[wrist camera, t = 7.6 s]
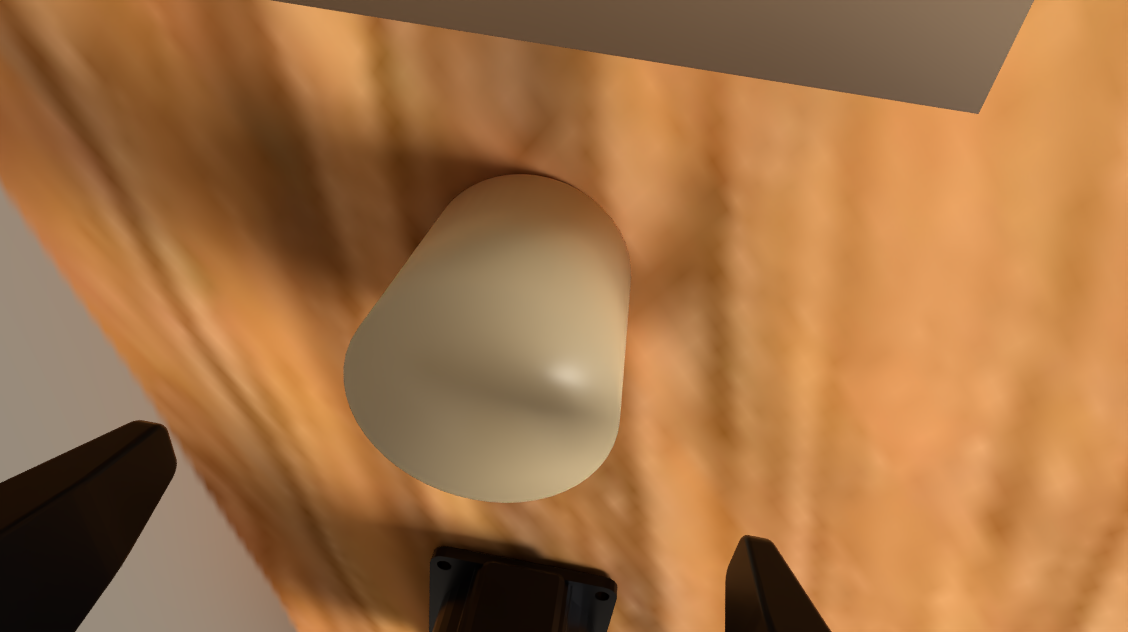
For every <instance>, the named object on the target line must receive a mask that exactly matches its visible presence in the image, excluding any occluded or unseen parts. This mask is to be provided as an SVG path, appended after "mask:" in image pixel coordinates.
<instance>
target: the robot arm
mask: <svg viewBox="0 0 1128 632" xmlns="http://www.w3.org/2000/svg"><path fill="white" fill-rule="evenodd" d="M176 466H177V460H176V456H175V453H174V450H173V446H172V443H171V440H170V436H169V433H168V430H167V428H166V427H165V426H164V425H162V424H159V423H153V422H148V421H142V420H138V421H133V422H130V423H128V424H126V425H123V426H121V427H119V428H117V429H115V430H113V431H111V432H108V433H106V434H104V435H102V436H100V437H98V438H96V439H93V440H92V441H89V442H87V443H85V444H83V445H81V446H79V447H76V448H74V449H72V450H70V451H68V452H66V453H64V454H61V455H59V456H57V457H55V458H53V459H51V460H49V461H46V462H44V463H42V464H40V465H38V466H36V467H34V468H31V469H29V470H27V471H25V472H23V473H21V474H19V475H17V476H14V477H12V478H10V479H8V480H6V481H4V482H1V483H0V632H75V631H76V630H77V628H78V627H79V625H80V624H81V623H82V621H83V620H84V619H85V617H86V616H87V614H88V613H89V611H90V610H91V609H92V607H93V606H94V605H95V603H96V601H97V600H98V599H99V597H100V596H101V595H102V593H103V592H104V590H105V589H106V588H107V586H108V585H109V583H110V582H111V581H112V579H113V578H114V576H115V575H116V573H117V572H118V570H119V569H120V567H121V566H122V564H123V562H124V561H125V559H126V558H127V556H128V554H129V553H130V551H131V550H132V548H133V546H134V544H135V543H136V541H137V539H138V537H139V536H140V534H141V532H142V530H143V529H144V527H145V525H146V523H147V522H148V520H149V518H150V516H151V515H152V513H153V511H154V509H155V507H156V506H157V504H158V503H159V501H160V499H161V497H162V495H163V494H164V492H165V490H166V489H167V487H168V485H169V483H170V481H171V480H172V478H173V476H174V474H175V471H176ZM616 599H617V584H616V583H615V581H613V580H612V579H610V578H607V577H602V576H597V575H592V574H587V573H582V572H577V571H571V570H566V569H561V568H556V567H551V566H546V565H540V564H535V563H530V562H525V561H520V560H514V559H509V558H504V557H499V556H494V555H489V554H483V553H478V552H473V551H468V550H463V549H458V548H452V547H446V546H441V547H438V548H436V549H435V550H434V553H433V556H432V558H431V561H430V607H429V632H607V630H608V626H609V623H610V620H611V616H612V613H613V609H614V606H615V603H616ZM725 632H831V631H830V629H829V628H828V626H827V624H826V623H825V621H824V620H823V618H822V617H821V615H820V614H819V612H818V611H817V609H816V608H815V606H814V605H813V603H812V601H811V600H810V598H809V597H808V595H807V594H806V592H805V591H804V589H803V588H802V586H801V585H800V583H799V582H798V580H797V578H796V577H795V575H794V574H793V572H792V571H791V569H790V568H789V566H788V565H787V563H786V562H785V560H784V558H783V557H782V555H781V554H780V552H779V551H778V549H777V548H776V546H775V545H774V543H773V542H771V541H770V540H769V539H766V538H760V537H755V536H750V535H745V536H743V537H742V538H741V539H740V541H739V543H738V546H737V548H736V550H735V552H734V555H733V557H732V559H731V561H730V564H729V566H728V569H727V573H726V582H725Z"/></svg>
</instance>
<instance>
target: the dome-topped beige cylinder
mask: <svg viewBox="0 0 1128 632" xmlns="http://www.w3.org/2000/svg"><path fill="white" fill-rule="evenodd" d="M630 285H631V264H630V258H629V253H628V250H627V247H626V244H625V241H624V239H623V237H622V235H621V233H620V230H619V229H618V227H617V226H616V224H615V223H614V221H613V220H612V218H611V217H610V216H609V215H608V214H607V213H606V212H605V210H604V209H603V208H602V207H601V206H600V205H598V204H597V203H596V202H595V201H594V200H593V199H592V198H590V197H589V196H587V195H586V194H584V193H583V192H581V191H580V190H578V189H576V188H574V187H572V186H570V185H568V184H566V183H563V182H560V181H558V180H555V179H552V178H547V177H543V176H538V175H528V174H510V175H504V176H497V177H494V178H490V179H487V180H483V181H481V182H479V183H477V184H475V185H473V186H471V187H469V188H468V189H466V190H465V191H463V192H461V193H460V194H459V195H458V196H457V197H456V198H454V199H453V200H452V201H451V202H450V203H449V205H448V206H447V207H446V208H445V209H444V211H443V212H442V213H441V215H440V216H439V217H438V219H437V220H436V222H435V223H434V224H433V226H432V227H431V228H430V230H429V231H428V233H427V234H426V235H425V237H424V238H423V240H422V241H421V242H420V244H419V245H418V246H417V248H416V249H415V251H414V252H413V253H412V255H411V256H410V257H409V259H408V260H407V262H406V263H405V264H404V266H403V267H402V268H401V270H400V271H399V273H398V274H397V275H396V277H395V278H394V279H393V281H392V282H391V284H390V285H389V286H388V288H387V289H386V290H385V292H384V293H383V295H382V296H381V297H380V299H379V300H378V301H377V303H376V304H375V306H374V307H373V308H372V310H371V311H370V312H369V314H368V315H367V317H366V318H365V319H364V321H363V322H362V323H361V325H360V326H359V328H358V329H357V331H356V333H355V334H354V336H353V338H352V339H351V341H350V344H349V347H348V350H347V353H346V357H345V363H344V386H345V392H346V397H347V400H348V403H349V406H350V409H351V411H352V413H353V415H354V417H355V419H356V421H357V423H358V425H359V426H360V428H361V429H362V431H363V432H364V434H365V435H366V436H367V438H368V439H369V440H370V441H371V442H372V444H373V445H374V446H375V447H376V448H377V449H378V450H379V451H380V452H381V453H382V454H383V455H384V456H385V457H386V458H387V459H389V460H390V461H391V462H392V463H394V464H395V465H396V466H397V467H399V468H400V469H402V470H403V471H405V472H406V473H408V474H409V475H411V476H412V477H414V478H416V479H418V480H420V481H422V482H424V483H425V484H427V485H430V486H432V487H434V488H437V489H439V490H442V491H444V492H447V493H451V494H454V495H457V496H461V497H465V498H469V499H473V500H480V501H487V502H501V503H511V502H526V501H533V500H538V499H543V498H547V497H551V496H554V495H556V494H559V493H562V492H564V491H566V490H568V489H570V488H572V487H574V486H576V485H578V484H579V483H581V482H582V481H584V480H585V479H587V478H588V477H589V476H590V475H591V474H592V473H594V472H595V471H596V470H597V469H598V468H599V467H600V465H601V464H602V463H603V462H604V460H605V459H606V458H607V456H608V454H609V453H610V451H611V449H612V447H613V445H614V442H615V439H616V436H617V433H618V428H619V421H620V411H621V398H622V386H623V373H624V361H625V348H626V335H627V323H628V310H629V298H630Z"/></svg>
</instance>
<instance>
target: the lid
mask: <svg viewBox="0 0 1128 632" xmlns="http://www.w3.org/2000/svg"><path fill="white" fill-rule="evenodd" d="M273 1H279V2H285V3H291V4H298V5H304V6H310V7H316V8H322V9H329V10H335V11H341V12H347V13H354V14H360V15H366V16H372V17H378V18H385V19H391V20H397V21H403V22H410V23H416V24H422V25H428V26H434V27H441V28H447V29H453V30H459V31H466V32H472V33H478V34H484V35H490V36H497V37H503V38H509V39H515V40H522V41H528V42H534V43H540V44H546V45H553V46H559V47H565V48H571V49H578V50H584V51H590V52H596V53H602V54H609V55H615V56H621V57H627V58H634V59H640V60H646V61H652V62H658V63H665V64H671V65H677V66H683V67H690V68H696V69H702V70H708V71H714V72H721V73H727V74H733V75H739V76H746V77H752V78H758V79H764V80H770V81H777V82H783V83H789V84H795V85H802V86H808V87H814V88H820V89H826V90H833V91H839V92H845V93H851V94H858V95H864V96H870V97H876V98H882V99H889V100H895V101H901V102H907V103H914V104H920V105H926V106H932V107H938V108H945V109H951V110H957V111H963V112H970V113H976V114H979V112H980V110H981V108H982V106H983V104H984V102H985V100H986V97H987V95H988V93H989V91H990V89H991V87H992V85H993V83H994V81H995V79H996V77H997V75H998V73H999V71H1000V69H1001V67H1002V65H1003V63H1004V61H1005V59H1006V57H1007V55H1008V52H1009V50H1010V48H1011V46H1012V44H1013V42H1014V40H1015V38H1016V36H1017V34H1018V32H1019V30H1020V28H1021V26H1022V24H1023V22H1024V20H1025V18H1026V16H1027V14H1028V12H1029V9H1030V7H1031V5H1032V3H1033V1H1034V0H273Z"/></svg>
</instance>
